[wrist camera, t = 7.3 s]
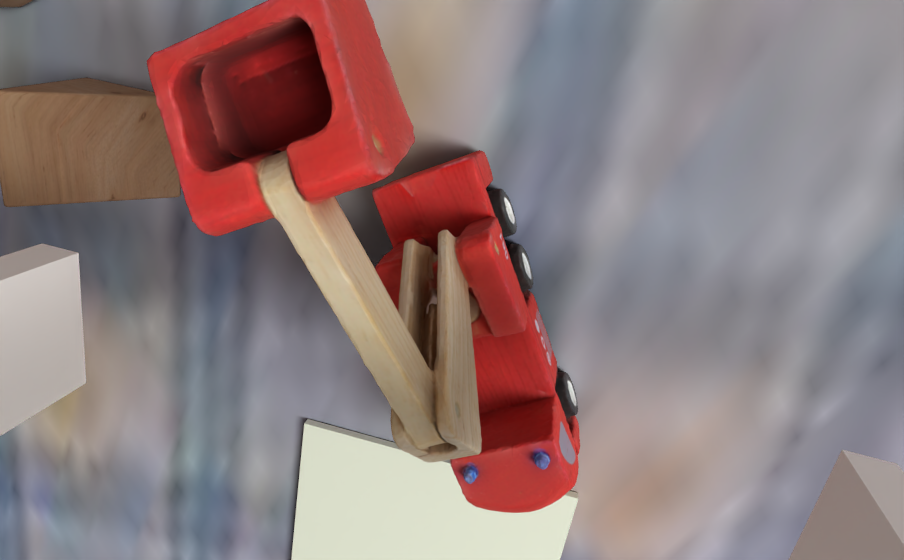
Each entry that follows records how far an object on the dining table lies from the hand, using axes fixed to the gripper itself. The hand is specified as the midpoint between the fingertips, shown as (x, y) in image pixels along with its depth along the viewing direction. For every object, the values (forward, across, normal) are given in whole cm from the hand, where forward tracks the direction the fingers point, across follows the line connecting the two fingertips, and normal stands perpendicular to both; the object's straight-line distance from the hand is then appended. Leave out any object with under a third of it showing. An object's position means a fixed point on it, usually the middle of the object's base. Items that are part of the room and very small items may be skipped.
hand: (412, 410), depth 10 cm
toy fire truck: (+9, -1, 0) cm, 9 cm away
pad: (+9, 0, -15) cm, 18 cm away
